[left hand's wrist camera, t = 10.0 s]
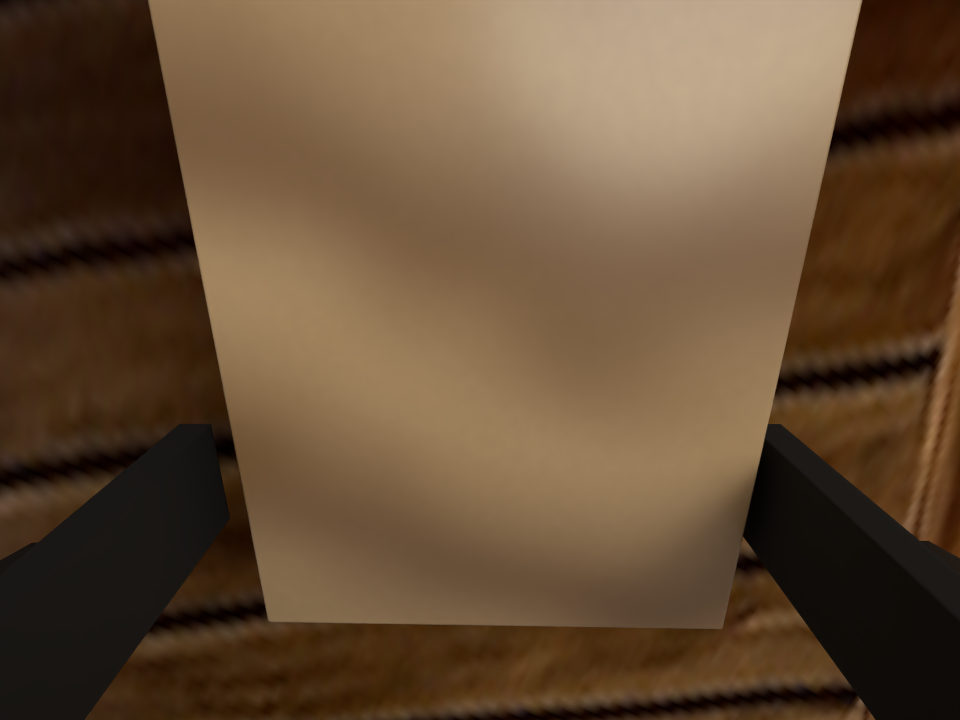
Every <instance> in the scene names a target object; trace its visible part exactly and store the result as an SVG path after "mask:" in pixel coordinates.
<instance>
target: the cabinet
mask: <svg viewBox="0 0 960 720" xmlns="http://www.w3.org/2000/svg"><path fill="white" fill-rule="evenodd" d="M148 3H149V8H150V13H151V18H152V23H153V29H154V34H155V39H156V44H157V49H158V54H159V59H160V65H161V70H162V75H163V80H164V85H165V90H166V96H167V101H168V106H169V111H170V116H171V121H172V127H173V132H174V137H175V142H176V147H177V152H178V158H179V163H180V168H181V173H182V178H183V183H184V188H185V194H186V199H187V204H188V209H189V214H190V219H191V225H192V230H193V235H194V240H195V245H196V250H197V256H198V261H199V266H200V271H201V276H202V281H203V286H204V292H205V297H206V302H207V307H208V312H209V317H210V323H211V328H212V333H213V338H214V343H215V348H216V354H217V359H218V364H219V369H220V374H221V379H222V385H223V390H224V395H225V400H226V405H227V410H228V415H229V421H230V426H231V431H232V436H233V441H234V446H235V452H236V457H237V462H238V467H239V472H240V477H241V483H242V488H243V493H244V498H245V503H246V508H247V514H248V519H249V524H250V529H251V534H252V539H253V544H254V550H255V555H256V560H257V565H258V570H259V575H260V581H261V586H262V591H263V596H264V601H265V606H266V612H267V617H268V621H269V622H305V623H370V624H435V625H500V626H565V627H630V628H695V629H722V628H723V623H724V619H725V614H726V610H727V605H728V601H729V596H730V592H731V587H732V583H733V578H734V574H735V569H736V565H737V560H738V556H739V551H740V547H741V542H742V538H743V533H744V529H745V524H746V520H747V515H748V511H749V506H750V502H751V497H752V493H753V488H754V484H755V479H756V475H757V470H758V466H759V461H760V457H761V452H762V448H763V443H764V439H765V434H766V430H767V425H768V421H769V416H770V412H771V407H772V403H773V398H774V394H775V389H776V385H777V380H778V376H779V371H780V367H781V362H782V358H783V353H784V349H785V344H786V340H787V335H788V331H789V326H790V322H791V317H792V313H793V308H794V304H795V300H796V295H797V291H798V286H799V282H800V277H801V273H802V268H803V264H804V259H805V255H806V250H807V246H808V241H809V237H810V232H811V228H812V223H813V219H814V214H815V210H816V205H817V201H818V196H819V192H820V187H821V183H822V178H823V174H824V169H825V165H826V160H827V156H828V151H829V147H830V142H831V138H832V133H833V129H834V124H835V120H836V115H837V111H838V106H839V102H840V97H841V93H842V88H843V84H844V79H845V75H846V70H847V66H848V61H849V57H850V52H851V48H852V43H853V39H854V34H855V30H856V25H857V21H858V16H859V12H860V7H861V3H862V0H148Z"/></svg>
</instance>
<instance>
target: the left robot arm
mask: <svg viewBox="0 0 960 720" xmlns="http://www.w3.org/2000/svg"><path fill="white" fill-rule="evenodd" d="M229 519H230V516H229V511H228V506H227V501H226V496H225V491H224V487H223V482H222V477H221V472H220V467H219V462H218V457H217V452H216V447H215V442H214V437H213V432H212V427H211V424H179V425H178V426H177V427H176V428H174V429H173V430H172V431H171V432H170V433H168V434H167V435H166V436H165V437H164V438H162V439H161V440H160V441H159V442H158V443H157V444H155V445H154V446H153V447H152V448H151V449H149V450H148V451H147V452H146V453H145V454H143V455H142V456H141V457H140V458H139V459H137V460H136V461H135V462H134V463H133V464H131V465H130V466H129V467H128V468H127V469H125V470H124V471H123V472H122V473H121V474H120V475H118V476H117V477H116V478H115V479H114V480H112V481H111V482H110V483H109V484H108V485H106V486H105V487H104V488H103V489H102V490H100V491H99V492H98V493H97V494H96V495H94V496H93V497H92V498H91V499H90V500H89V501H87V502H86V503H85V504H84V505H83V506H81V507H80V508H79V509H78V510H77V511H75V512H74V513H73V514H72V515H71V516H69V517H68V518H67V519H66V520H65V521H63V522H62V523H61V524H60V525H59V526H58V527H56V528H55V529H54V530H53V531H52V532H50V533H49V534H48V535H47V536H46V537H44V538H43V539H42V540H41V541H40V542H38V543H31V544H29V545H27V546H26V547H24V548H22V549H20V550H18V551H17V552H15V553H13V554H11V555H9V556H8V557H6V558H4V559H2V560H0V720H84V719H85V718H86V717H87V715H88V714H89V713H90V711H91V710H92V708H93V707H94V706H95V704H96V703H97V702H98V700H99V699H100V697H101V696H102V695H103V693H104V692H105V690H106V689H107V688H108V686H109V685H110V684H111V682H112V681H113V679H114V678H115V677H116V675H117V674H118V672H119V671H120V670H121V668H122V667H123V666H124V664H125V663H126V661H127V660H128V659H129V657H130V656H131V654H132V653H133V652H134V650H135V649H136V648H137V646H138V645H139V643H140V642H141V641H142V639H143V638H144V636H145V635H146V634H147V632H148V631H149V630H150V628H151V627H152V625H153V624H154V623H155V621H156V620H157V619H158V617H159V616H160V614H161V613H162V612H163V610H164V609H165V607H166V606H167V605H168V603H169V602H170V601H171V599H172V598H173V596H174V595H175V594H176V592H177V591H178V589H179V588H180V587H181V585H182V584H183V583H184V581H185V580H186V578H187V577H188V576H189V574H190V573H191V571H192V570H193V569H194V567H195V566H196V565H197V563H198V562H199V560H200V559H201V558H202V556H203V555H204V553H205V552H206V551H207V549H208V548H209V547H210V545H211V544H212V542H213V541H214V540H215V538H216V537H217V535H218V534H219V533H220V531H221V530H222V529H223V527H224V526H225V524H226V523H227V522H228V520H229ZM743 537H744V538H745V540H746V541H747V542H748V544H749V545H750V547H751V548H752V549H753V551H754V552H755V553H756V555H757V556H758V558H759V559H760V560H761V562H762V563H763V565H764V566H765V567H766V569H767V570H768V571H769V573H770V574H771V576H772V577H773V578H774V580H775V581H776V583H777V584H778V585H779V587H780V588H781V589H782V591H783V592H784V594H785V595H786V596H787V598H788V599H789V601H790V602H791V603H792V605H793V606H794V607H795V609H796V610H797V612H798V613H799V614H800V616H801V617H802V619H803V620H804V621H805V623H806V624H807V625H808V627H809V628H810V630H811V631H812V632H813V634H814V635H815V636H816V638H817V639H818V641H819V642H820V643H821V645H822V646H823V648H824V649H825V650H826V652H827V653H828V654H829V656H830V657H831V659H832V660H833V661H834V663H835V664H836V666H837V667H838V668H839V670H840V671H841V672H842V674H843V675H844V677H845V678H846V679H847V681H848V682H849V684H850V685H851V686H852V688H853V689H854V690H855V692H856V693H857V695H858V696H859V697H860V699H861V700H862V702H863V703H864V704H865V706H866V707H867V708H868V710H869V711H870V713H871V714H872V715H873V717H874V718H875V720H960V558H958V557H956V556H955V555H953V554H951V553H949V552H947V551H946V550H944V549H942V548H940V547H938V546H937V545H935V544H933V543H931V542H929V541H919V540H918V539H917V538H916V537H914V536H913V535H912V534H911V533H910V532H908V531H907V530H906V529H905V528H904V527H902V526H901V525H900V524H899V523H898V522H897V521H895V520H894V519H893V518H892V517H891V516H889V515H888V514H887V513H886V512H885V511H883V510H882V509H881V508H880V507H879V506H877V505H876V504H875V503H874V502H873V501H871V500H870V499H869V498H868V497H867V496H866V495H864V494H863V493H862V492H861V491H860V490H858V489H857V488H856V487H855V486H854V485H852V484H851V483H850V482H849V481H848V480H846V479H845V478H844V477H843V476H842V475H840V474H839V473H838V472H837V471H836V470H835V469H833V468H832V467H831V466H830V465H829V464H827V463H826V462H825V461H824V460H823V459H821V458H820V457H819V456H818V455H817V454H815V453H814V452H813V451H812V450H811V449H809V448H808V447H807V446H806V445H805V444H803V443H802V442H801V441H800V440H799V439H798V438H796V437H795V436H794V435H793V434H792V433H790V432H789V431H788V430H787V429H786V428H784V427H783V426H782V425H781V424H768V425H767V430H766V434H765V439H764V443H763V448H762V452H761V457H760V461H759V466H758V470H757V475H756V479H755V484H754V488H753V493H752V497H751V502H750V506H749V511H748V515H747V520H746V524H745V529H744V533H743Z"/></svg>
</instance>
